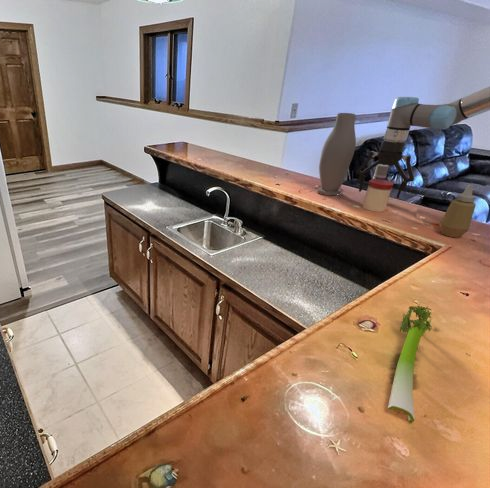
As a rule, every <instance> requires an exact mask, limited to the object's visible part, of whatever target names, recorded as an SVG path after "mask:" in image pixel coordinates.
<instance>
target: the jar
mask: <svg viewBox="0 0 490 488" xmlns="http://www.w3.org/2000/svg"><path fill="white" fill-rule="evenodd" d="M392 190H393V188H392V189H377V188H373V187H371V186H369V184H368V186H367V188H366V192H365V197H364V200H363V203H362V208H363V209H365V210H367V211H370V212H375V213H376V212H377V213H382V212H385V211H386V209H387V206H388V204H389V203H388V202H389V199H390V197H391V193H392Z"/></svg>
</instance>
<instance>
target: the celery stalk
mask: <svg viewBox="0 0 490 488" xmlns="http://www.w3.org/2000/svg"><path fill="white" fill-rule="evenodd" d="M431 311H432V308H430V307H428V306H426V307H425V306H423V305H421V306H420V305H417V306H414V305H413V306H412V305H410V306H408V310H407V312H406V314H405V313H403V314H402V317H403V318H402V321H401V324H400V326H399V329H398V330H399V332H401V333H403V334H405V333H407V335H406V337H405V340H404V343H403V346H402V349H401V352H400V355H399V358H398V361H397V363H396V368H395V373H394V378H393V382H392V385H391V391H390V396H389V400H388V405H387V409H388V410H394V409H396V410H398V411H401V412H403V413H406V414H407V417H408V418H407V420H408V422H409V424H412V423H414V422H415V420H416V418H415V408H414V407H415V406H414V396H413V390H414V370H415V362H416V356H417V351H418V347H419V344H420V341H421V338H422V337H423V336H424V334H425V333H426V332H427V331H428V332H430V331H432V330H433V327H432V325H431V323H432V316H431V315H432V312H431ZM412 313H415V317H416V318H417V319H411V317H412ZM411 324H412V325H413V326H412V325H411Z"/></svg>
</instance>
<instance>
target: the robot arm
mask: <svg viewBox="0 0 490 488" xmlns="http://www.w3.org/2000/svg"><path fill="white" fill-rule="evenodd" d="M419 101H420V98H419V97H414V96H398V97H396V98H395V99H394V102H393V104H392V107H391V109H390V114H389V118H388V121H387V125H386V127H385V132H384V135H383V140H382V143H381V146H380V149H379V152H377V151H374V150H371V151H370V152H369V154H368V157H367V158H366V159H365V160H364V161H363V162H362V164H360V165H359V167H358V168H357V169H356V171H355V174H357V175H359V177H358V181H357V183H358V184H360V185H359V188H358V192H359V193H361V192H362V190H363V187H364V183H365V180H366V176H367V175H366V174H367V173H368V172H370V171H372V169H374V168H376V167H377V165H378V164H382V165H388V166H389V167H392V166H394V167H395V169H396V170H397V172H398V173H399V175H400V177H401V178H402V180H401V181H400V185H399V189H398V191H397V194H396V199H399V198H400V196H401V192H402V191H405V190H406V188H407V185H408V183H409V182H414V181H415V175H414V172H413V168H412V164H411V163H412V162H411V158H412V155H411V154H408V155H403V152H404V149H405V146H406V141H407V139H408V137H409V134H410V129H411V127H419V128H426V129H433V130H447V129H449V128H450V127H451V126H454V125H457V124H459V123H461V122H462V121H465V120H468V119H470V118H473V117H475V116H478V115H481V114H483V113H486V112H488V111H490V86H487V87H485V88H483V89H480V90H478V91H475V92H472V93H471V94H469V95H466V96H464V97H461V98H459V99H456V100H453V101H452V102H449V103H444V104H443V103H442V104H424V103H423V104H422V103H419ZM375 157H377V160H376V161H375V162H373V163H372V164H371V165H369V166H368V167H366V165H367V164H368V163H369V162H370V161H371V160H372V158H375ZM401 160H403V162H405V165H406V169H407V174H408V176H407V174H406V173H405V171H404V169H403V167H402V165H401V164H400V161H401ZM364 167H366V168H365V169H364V170H363V168H364Z"/></svg>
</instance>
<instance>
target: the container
mask: <svg viewBox="0 0 490 488" xmlns="http://www.w3.org/2000/svg"><path fill="white" fill-rule="evenodd" d="M389 168H390V166H389V165H382V164H381V163H380V164H378V165H377V166H375V170H374V174H373V176H372V179H382V180H387V175H388V171H389Z"/></svg>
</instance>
